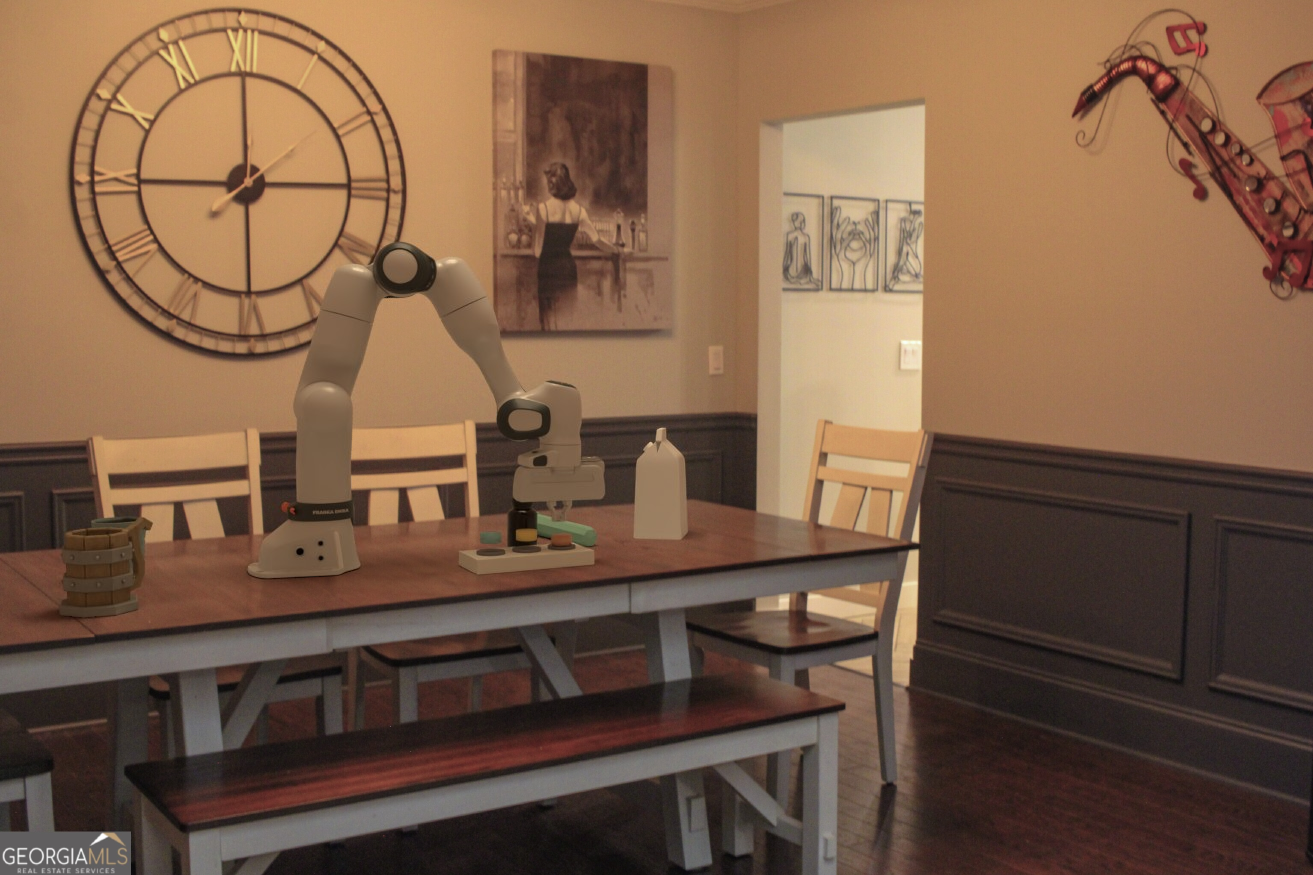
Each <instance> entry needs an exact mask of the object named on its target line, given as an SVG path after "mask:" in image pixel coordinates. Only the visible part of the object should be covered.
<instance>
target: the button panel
mask: <svg viewBox="0 0 1313 875" xmlns="http://www.w3.org/2000/svg"><path fill="white" fill-rule="evenodd" d="M591 565H593V566H594V565H595V550H594V549H591V548H589V547H583V546H581V545H578V544H575V543H573V542H572V545H568V546H554V545H551V543H544V544H537V545H530V546H517V547H507V546H506V547H494V548H492V547H491V548H481V549H471V550H470V549H468V550H459V551H458V566H460V567H462V568H463V569H466V570H468V571H469V572H471V573H474V574H475V575H478V576H479V575H488V574H489V575H490V574H501V573H513V572H523V571H537V570H547V569H548V570H549V569H557V568H558V569H559V568H560V569H561V568H568V567H569V568H571V567H579V566H580V567H581V566H591Z"/></svg>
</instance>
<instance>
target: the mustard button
mask: <svg viewBox="0 0 1313 875" xmlns="http://www.w3.org/2000/svg"><path fill="white" fill-rule="evenodd" d="M516 540H517V541H535V540H537V541H538V535H537V530H536V529H518V530H516Z"/></svg>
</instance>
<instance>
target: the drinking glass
mask: <svg viewBox="0 0 1313 875" xmlns="http://www.w3.org/2000/svg"><path fill="white" fill-rule="evenodd" d="M139 517H140V516H113V517H101V518H96V519H92V520H91V521H90V522H91V523H90V524H91V525H90V526H91V528H106V527H108V528H110V527H112V528H125V529H126V528H127V527H128V526H130V525H131V524H133V523H134V522H135V521H136V520H137V519H138V518H139ZM146 532H147V530H144V529H142V530H141V531H140V532H139V540H140V548H141V551H142V554H143V557H144V559H146V557H145V553H146V536H147V533H146ZM129 568H132V569H133V563H132V560H131V559H130V560H129Z"/></svg>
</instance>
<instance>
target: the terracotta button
mask: <svg viewBox="0 0 1313 875" xmlns="http://www.w3.org/2000/svg"><path fill="white" fill-rule="evenodd" d="M550 539H551V540H550V544H551V545H554V546H568V545H572V535H571V534H566V533H558V534H552V535H551V538H550Z"/></svg>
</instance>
